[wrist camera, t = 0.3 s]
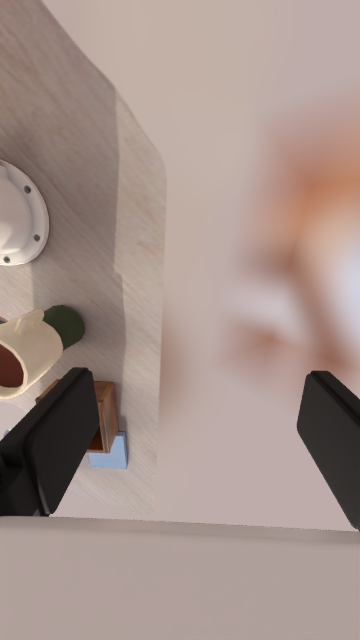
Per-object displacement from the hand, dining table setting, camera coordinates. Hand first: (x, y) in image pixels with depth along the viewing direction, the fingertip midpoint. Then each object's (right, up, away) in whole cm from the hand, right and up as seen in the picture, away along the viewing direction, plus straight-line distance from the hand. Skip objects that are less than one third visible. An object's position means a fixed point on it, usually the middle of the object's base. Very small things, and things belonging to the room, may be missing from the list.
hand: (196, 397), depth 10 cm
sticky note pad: (-14, -21, +31) cm, 40 cm away
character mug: (-18, +3, +24) cm, 30 cm away
